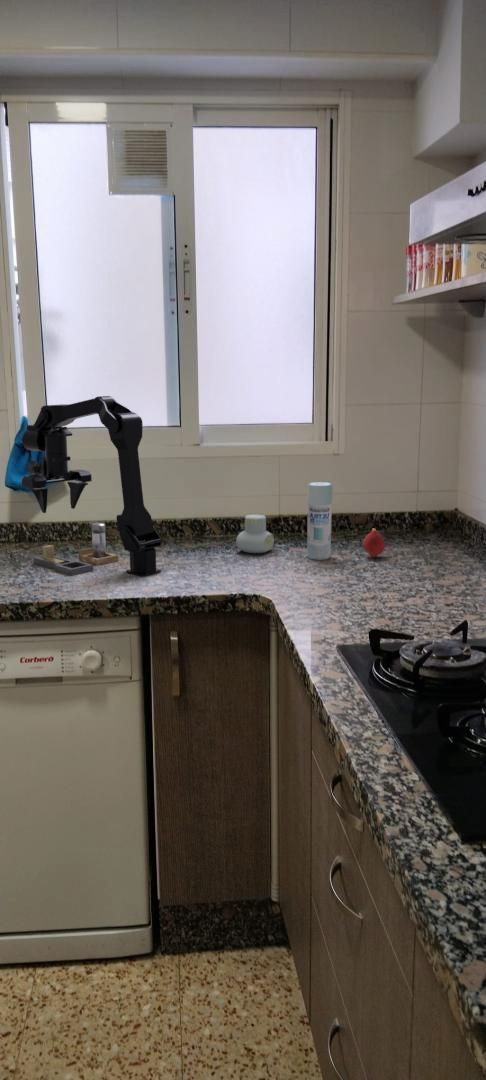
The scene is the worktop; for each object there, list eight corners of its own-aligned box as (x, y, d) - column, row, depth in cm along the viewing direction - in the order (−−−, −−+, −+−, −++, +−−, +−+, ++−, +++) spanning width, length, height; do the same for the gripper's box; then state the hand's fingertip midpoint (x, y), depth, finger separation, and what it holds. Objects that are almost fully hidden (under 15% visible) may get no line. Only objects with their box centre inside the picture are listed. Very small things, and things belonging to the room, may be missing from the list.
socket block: (93, 570, 222) (93, 564, 222) (71, 575, 217) (70, 569, 217) (52, 559, 234) (52, 553, 234) (30, 563, 229) (30, 558, 229)
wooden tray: (118, 560, 233) (118, 550, 232) (97, 565, 228) (96, 554, 227) (100, 556, 238) (99, 546, 237) (78, 560, 233) (78, 550, 232)
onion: (383, 555, 240) (385, 526, 238) (385, 560, 234) (386, 530, 232) (362, 554, 240) (363, 526, 238) (363, 559, 234) (364, 530, 233)
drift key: (65, 565, 226) (65, 548, 225) (58, 566, 225) (57, 550, 224) (51, 561, 231) (50, 544, 230) (43, 562, 229) (42, 546, 228)
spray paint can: (330, 554, 240) (332, 482, 236) (330, 560, 234) (332, 485, 230) (307, 554, 241) (308, 481, 237) (306, 559, 234) (307, 485, 230)
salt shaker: (109, 560, 233) (107, 523, 230) (98, 563, 230) (97, 525, 228) (100, 558, 235) (99, 522, 233) (90, 560, 232) (88, 524, 230)
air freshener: (260, 557, 237) (260, 520, 235) (233, 554, 241) (233, 518, 239) (276, 549, 247) (276, 514, 245) (250, 546, 250) (250, 511, 248)
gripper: (67, 447, 244) (69, 502, 247) (8, 453, 231) (11, 511, 234) (91, 450, 236) (93, 507, 240) (32, 456, 223) (35, 516, 226)
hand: (58, 510), depth 235 cm, fingers open, 9 cm apart
